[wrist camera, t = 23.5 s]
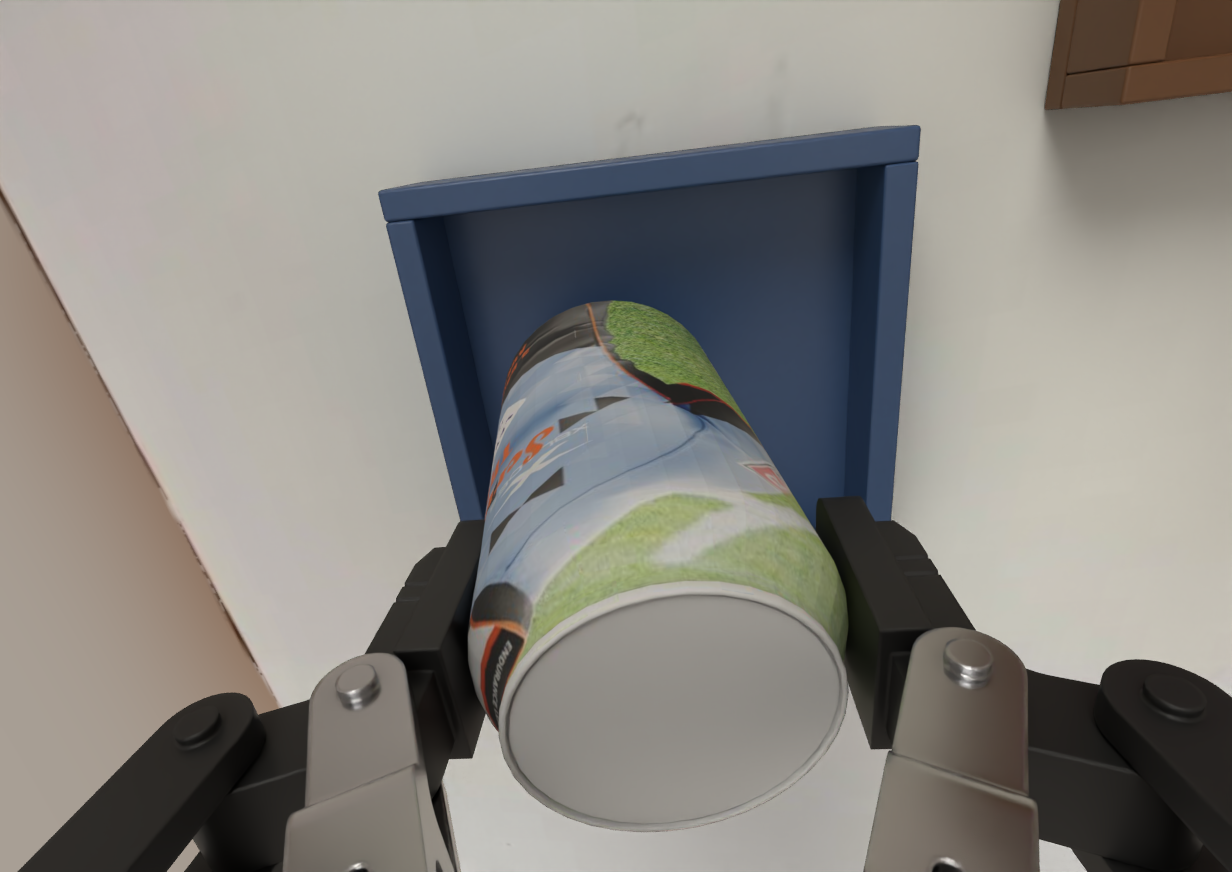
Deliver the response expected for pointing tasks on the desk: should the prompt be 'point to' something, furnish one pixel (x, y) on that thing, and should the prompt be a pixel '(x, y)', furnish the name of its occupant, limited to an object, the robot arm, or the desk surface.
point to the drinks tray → (683, 289)
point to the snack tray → (1139, 51)
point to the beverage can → (648, 586)
